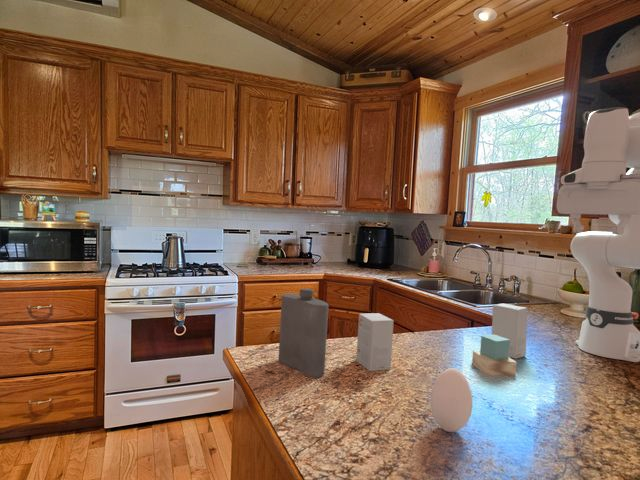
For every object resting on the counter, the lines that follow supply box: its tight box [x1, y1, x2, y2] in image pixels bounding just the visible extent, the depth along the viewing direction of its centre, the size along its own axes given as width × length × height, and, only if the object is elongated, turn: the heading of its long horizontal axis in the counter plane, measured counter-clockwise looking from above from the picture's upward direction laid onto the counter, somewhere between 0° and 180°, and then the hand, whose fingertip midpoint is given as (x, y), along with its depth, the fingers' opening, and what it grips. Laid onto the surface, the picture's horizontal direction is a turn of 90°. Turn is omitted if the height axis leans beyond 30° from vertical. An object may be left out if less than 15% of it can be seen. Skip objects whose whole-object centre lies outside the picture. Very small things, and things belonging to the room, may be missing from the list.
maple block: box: [471, 350, 517, 377], centre depth 109 cm, size 8×8×4 cm
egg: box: [429, 367, 473, 433], centre depth 75 cm, size 7×7×12 cm
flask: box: [277, 287, 329, 379], centre depth 101 cm, size 15×6×20 cm, turn 44°
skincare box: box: [491, 303, 528, 360], centre depth 122 cm, size 8×6×15 cm
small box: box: [355, 312, 395, 372], centre depth 106 cm, size 8×6×13 cm
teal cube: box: [479, 334, 510, 360], centre depth 108 cm, size 5×5×5 cm
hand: (597, 233), depth 98 cm, fingers open, 8 cm apart
